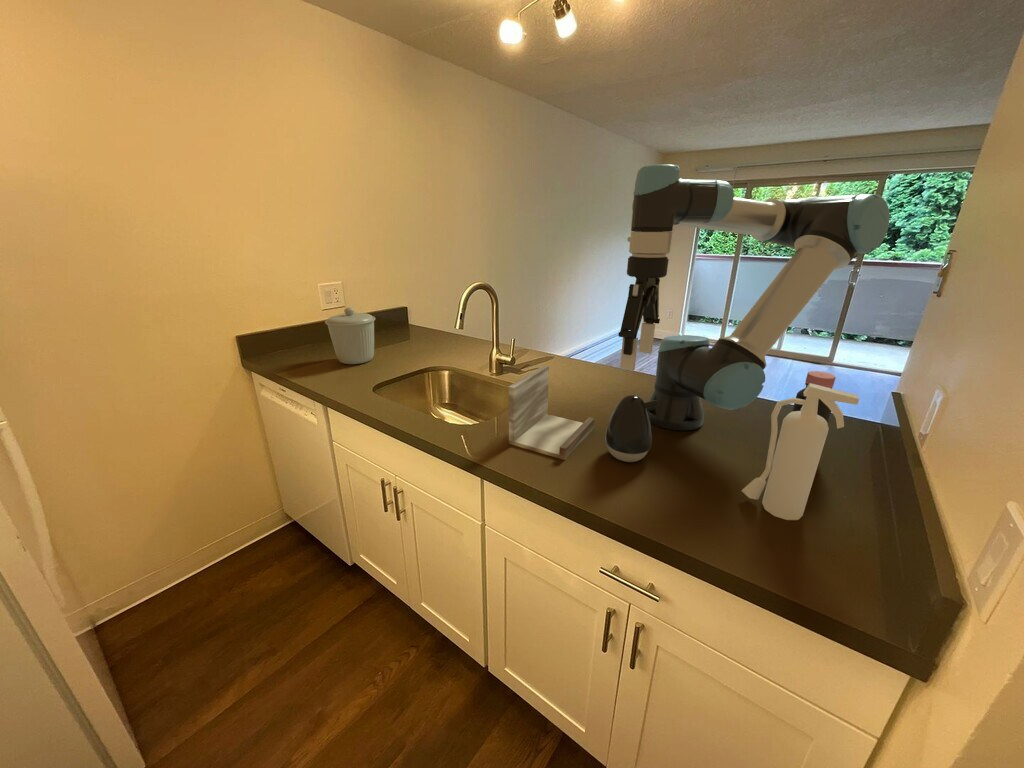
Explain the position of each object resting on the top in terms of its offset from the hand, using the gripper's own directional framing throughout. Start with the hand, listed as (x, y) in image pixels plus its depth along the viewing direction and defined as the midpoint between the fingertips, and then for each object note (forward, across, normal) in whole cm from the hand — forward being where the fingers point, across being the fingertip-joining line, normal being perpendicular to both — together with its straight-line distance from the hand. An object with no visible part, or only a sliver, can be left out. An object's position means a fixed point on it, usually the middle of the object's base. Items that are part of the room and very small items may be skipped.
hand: (636, 360), depth 88 cm
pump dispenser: (+23, 0, 0) cm, 23 cm away
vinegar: (+23, -20, +34) cm, 46 cm away
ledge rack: (+23, 0, -19) cm, 30 cm away
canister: (+24, -17, -113) cm, 117 cm away
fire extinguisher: (+23, +4, +30) cm, 38 cm away
